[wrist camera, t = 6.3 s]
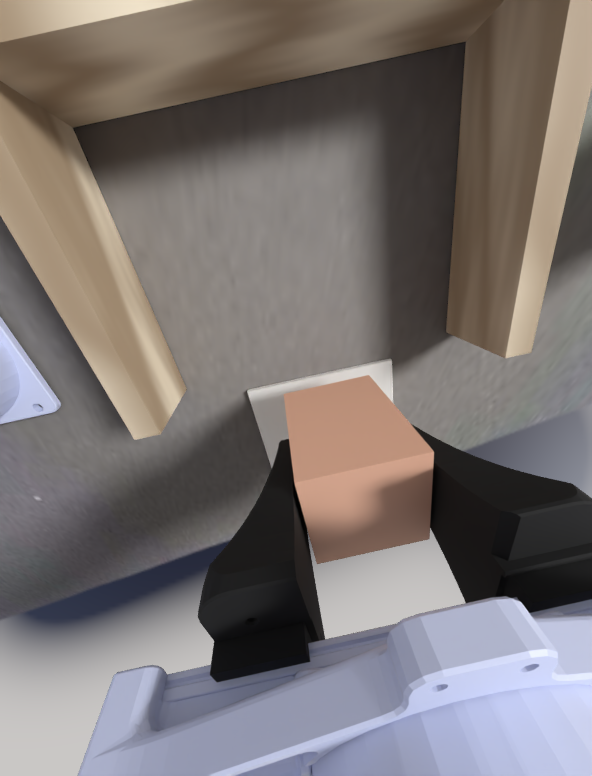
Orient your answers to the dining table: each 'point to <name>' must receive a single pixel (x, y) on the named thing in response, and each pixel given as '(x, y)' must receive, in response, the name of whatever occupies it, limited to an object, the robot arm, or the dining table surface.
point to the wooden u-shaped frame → (264, 67)
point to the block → (358, 469)
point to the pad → (271, 397)
